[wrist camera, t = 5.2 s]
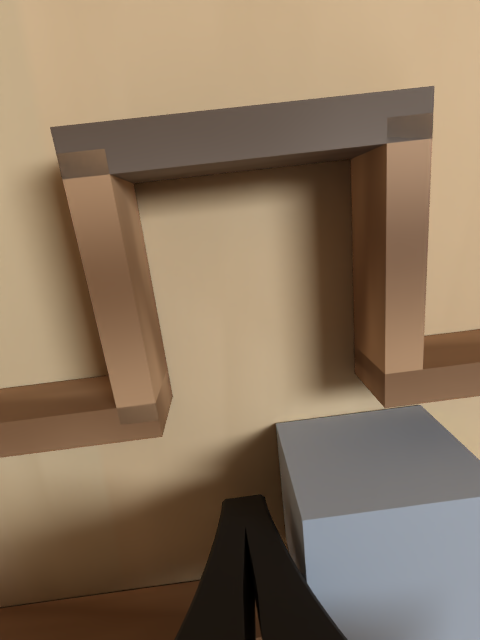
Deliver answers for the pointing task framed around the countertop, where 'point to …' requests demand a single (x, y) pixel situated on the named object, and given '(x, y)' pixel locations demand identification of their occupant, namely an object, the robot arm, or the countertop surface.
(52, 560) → the countertop surface
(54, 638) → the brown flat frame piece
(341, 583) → the block
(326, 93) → the countertop surface
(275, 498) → the countertop surface
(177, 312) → the countertop surface
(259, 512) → the robot arm
